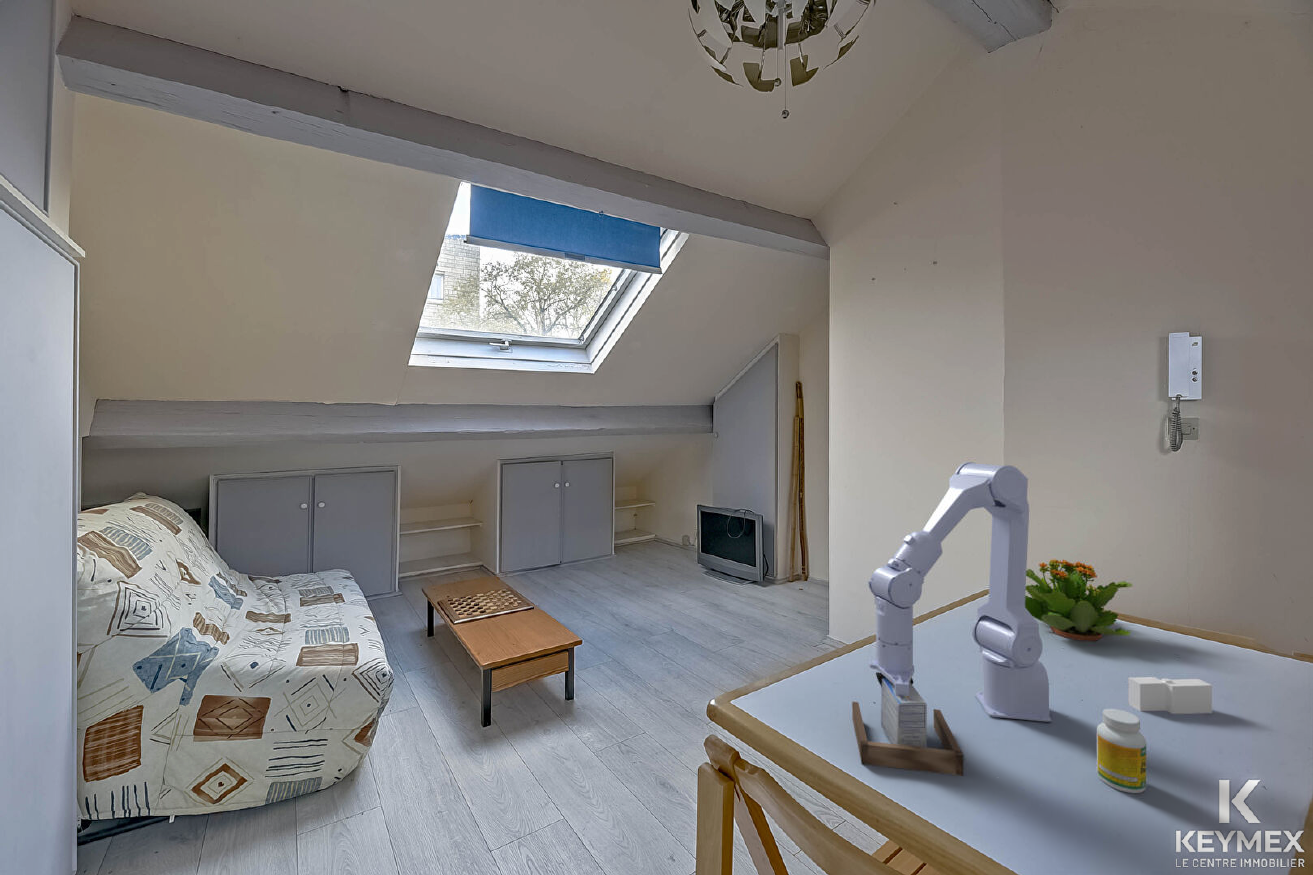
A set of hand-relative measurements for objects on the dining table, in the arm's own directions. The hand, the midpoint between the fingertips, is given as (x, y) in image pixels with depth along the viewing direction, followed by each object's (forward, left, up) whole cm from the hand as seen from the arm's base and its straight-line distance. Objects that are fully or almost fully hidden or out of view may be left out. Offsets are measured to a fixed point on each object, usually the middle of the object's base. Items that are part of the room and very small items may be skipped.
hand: (894, 717), depth 93 cm
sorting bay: (0, +5, -1) cm, 5 cm away
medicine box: (0, +5, -1) cm, 5 cm away
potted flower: (-48, -50, -2) cm, 69 cm away
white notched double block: (-47, -16, -2) cm, 50 cm away
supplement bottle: (-28, +9, -2) cm, 30 cm away
